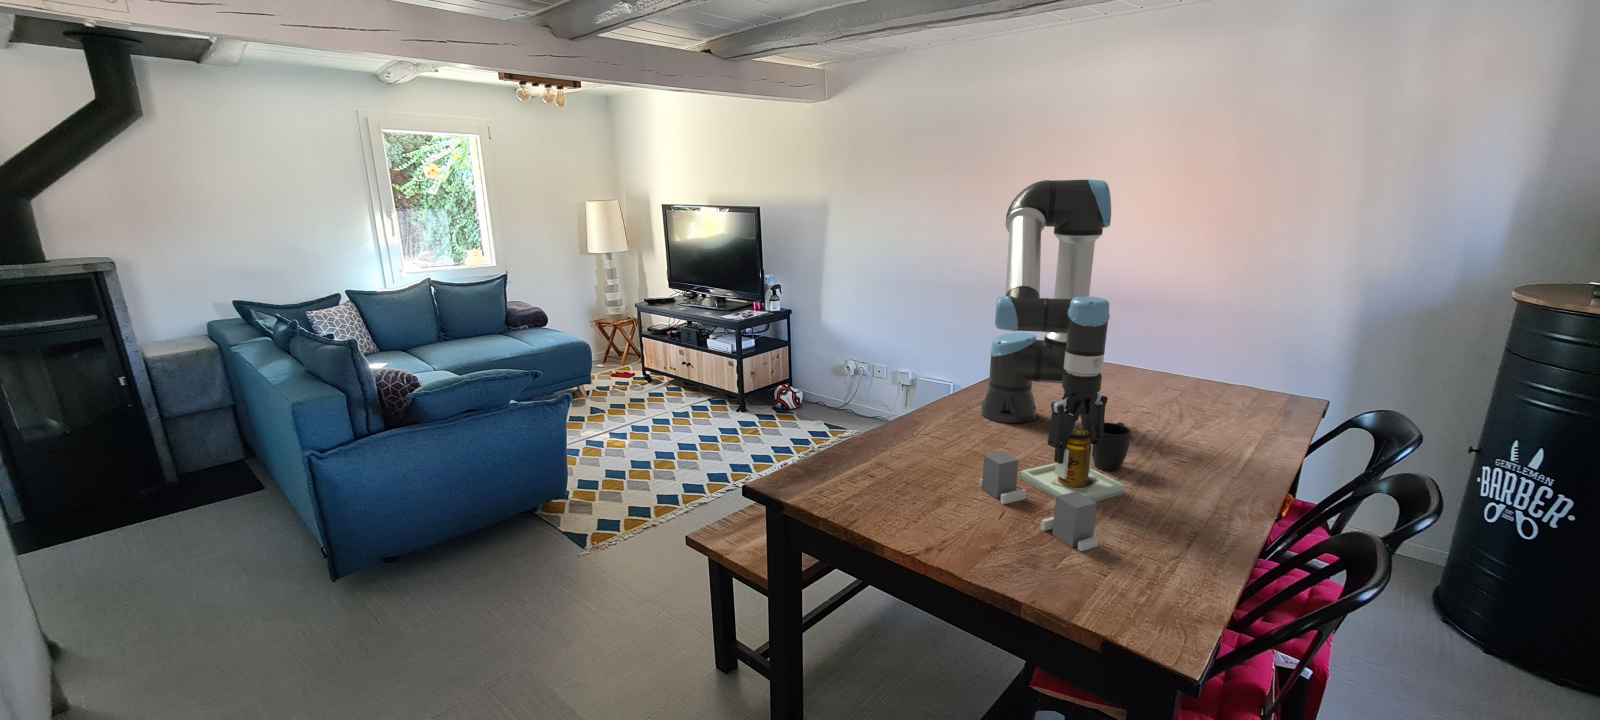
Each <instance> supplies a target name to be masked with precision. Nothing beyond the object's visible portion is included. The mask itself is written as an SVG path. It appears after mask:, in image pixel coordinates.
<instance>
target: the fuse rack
mask: <svg viewBox="0 0 1600 720" xmlns="http://www.w3.org/2000/svg"><path fill="white" fill-rule="evenodd" d="M982 465H983V466H982V467H983V468H982V478H979V480H978V481H979V483H978V486H979V487H980V488H981V490H983V491H984V492H986V493H987V494H989V495H991V496H992V497H993V498H995V499H997V500H998V499H1000V504H1001V505H1006V504H1011V503H1014V502H1019V501H1022V500H1026V498H1027V490H1026V489H1025V488H1021V489H1018V490H1017V482H1018V469H1019V458H1018V459H1017V458H1016V457H1014V456H1013V455H1010V454H1009V453H1007V452H1004V451H1002V450H1001V451H999V452H998V451H997V452H994V453H988V454H984V455H983V464H982ZM1097 507H1098V501H1096V502H1095V501H1093V500H1091V499H1089V498H1088V497H1086V496H1084V495H1082V494H1080V493H1078V492H1077V491H1076V492H1072V493H1068V494H1064V495H1060V496H1056V499H1055V501H1054V514H1053V516H1050V517H1046V518H1044V519H1041V520H1040V521H1041V522H1040V530H1042V531H1043V532H1046V531H1049V530H1052V531H1051V532H1052V534H1051V535H1052V536H1053V537H1055V538H1057V539H1058V540H1059V541H1061V542H1063V543H1064V544H1066V545H1068V546H1069V548H1071V549H1072V548H1075V547H1076V548H1077V550H1078V551H1080V552H1082V551H1083V552H1084V551H1087V550H1089V549H1093V548H1097V547H1098V545H1099V538H1098V537H1096V536H1095V535H1094V534H1095V525H1096V516H1097Z"/></svg>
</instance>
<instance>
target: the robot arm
mask: <svg viewBox="0 0 1600 720" xmlns="http://www.w3.org/2000/svg"><path fill="white" fill-rule="evenodd" d="M1111 197H1112V196H1111V192H1110V186H1109V184H1108V182H1106V181H1105V180H1102V179H1101V180H1100V179H1089V178H1087V179H1086V178H1085V179H1062V180H1061V179H1060V180H1057V179H1056V180H1050V179H1046V180H1041V181H1037V182H1034V183H1032V184H1030V185H1028V186H1027V187H1025V188H1023V190H1021V191H1020V192H1019V193H1018V194H1017V195H1016V197H1014V198H1013V200H1012V201H1011V203H1010V205H1009V206H1008V209H1007V212H1006V214H1005V215H1006V216H1005V228H1006V230H1007V232H1008V247H1007V248H1008V249H1007V262H1006V263H1007V264H1006V279H1005V294H1004V296H998V297H997V298H996V303H995V305H996V306H995V316H994V325H995V328H996V329H998V330H1003V331H1012V333H1006V334H1005V333H1004V334H1001V335H999V336H996V337H995V338H994V339H993V340H992V342H991V347H990V348H991V350H990V353H989V356H990V365H989V376H988V377H989V379H988V388H987V391H986V393H985V396H984V399H983V401H982V403H981V405H980V415H982V416H983V417H984V418H986V419H989V420H990V421H991V420H992V421H994V422H999V423H1006V424H1007V423H1008V424H1024V423H1030V422H1032V421H1034V420H1036V418H1037V406H1036V403H1035V399H1034V395H1033V391H1032V389H1033V382H1036V383H1037V382H1038V383H1049V384H1050V383H1052V384H1061V386H1062V389H1063V390H1064V394H1063V396H1062V398H1061V400H1060V401H1058V402H1057V401H1052V402H1051V404H1050V408H1051V417H1050V422H1049V424H1050V425H1049V431H1048V437H1047V445H1048V446H1050V447H1051V448H1054V458H1053V459H1054V460H1053V461H1054V463H1055V474H1056V475H1057V476H1059V477H1061V478H1063V479H1065V478H1067V468H1068V458H1069V450H1068V449H1066V448H1067V445H1068V442H1069V439H1070V436H1071V433H1072V430H1073V428H1075V424H1076V422H1077V421H1079V419H1080V420H1081V428H1082V429H1085V430H1087V431H1089V432H1090V434H1091V436H1090V444H1091V455H1090V464H1089V473H1090V468H1091V466H1092V460H1093V454H1094V445H1098V444H1099V442H1100V441H1098V439H1100V440H1101V439H1103V434H1104V423H1105V414H1106V406H1107V403H1108V400H1109V399H1108V396H1105V395H1104V394H1100V393H1099V392H1100V391H1101V389H1102V380H1103V379H1102V378H1103V374H1101V373H1103V369H1104V361H1105V352H1106V351H1105V347H1106V343H1107V342H1106V341H1107V334H1108V325H1109V320H1110V318H1111V317H1110V302H1109V301H1108V300H1107V299H1105V298H1101V297H1097V296H1090V291H1091V281H1092V273H1093V272H1092V271H1093V264H1094V262H1093V261H1094V256H1095V255H1094V254H1095V244H1096V240H1098V239H1099V238H1100V237H1101V236H1103V230H1104V228H1109V227H1110V226H1111V219H1112V199H1111ZM1045 227H1046V228H1048V227H1050V228H1052V227H1053V235H1054V236H1055V237H1056V238H1057V239H1058V250H1057V251H1058V252H1057V260H1056V261H1057V262H1056V263H1057V264H1056V275H1055V281H1054V282H1055V283H1054V296H1053V298H1051V297H1050V298H1049V297H1045V298H1044V297H1040V296H1041V295H1040V291H1041V289H1040V288H1041V252H1042V251H1041V248H1042V246H1041V245H1042V232H1043V230H1044V229H1045ZM1016 331H1017V332H1016ZM1018 331H1019V332H1018ZM1027 332H1039V333H1040V332H1041V333H1044V332H1045V333H1044V339H1037V336H1036V335H1035V334H1034V333H1027ZM1096 431H1098V433H1097V432H1096ZM1061 443H1062V444H1061ZM1091 469H1092V468H1091Z"/></svg>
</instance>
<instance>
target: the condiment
mask: <svg viewBox="0 0 1600 720" xmlns="http://www.w3.org/2000/svg"><path fill="white" fill-rule="evenodd" d="M1090 436H1091V434H1090V432H1089V431H1087V430H1085V429H1082V427H1073V430H1072V433H1071V436H1070V439H1069V442H1068V445H1067V448H1066V449H1068V450H1069V458H1068V468H1067V478H1065V479H1063V478H1061V477H1059V476H1057V477H1056V478H1055V479H1054V480H1053V481H1052V482H1051V483H1054V484H1058V485H1061V486H1064V487H1068V488H1072V489H1076V490H1080V491H1084V492H1086V491H1087V490H1088V489H1089V488H1090V486H1091V485H1092V484H1093V483H1094V482H1095V481H1096V479H1097V477H1092V476H1088V474H1089V464H1090V455H1091V444H1090ZM1061 444H1062V443H1061Z"/></svg>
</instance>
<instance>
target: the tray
mask: <svg viewBox="0 0 1600 720" xmlns="http://www.w3.org/2000/svg"><path fill="white" fill-rule="evenodd" d="M1055 463H1056V462H1054V463H1050V464H1045V465H1041V466H1036V467H1031V468H1028V469H1023V470H1020V477H1019V478H1020V480H1021V481H1023V482H1025V483H1027V484H1028V485H1029V486H1032V487H1034V488H1035V489H1037V490H1039V491H1040V492H1042V493H1044V494H1046V495H1047V496H1049V497H1050V498H1052V499H1054V500H1056V496H1060V495H1064V494H1068V493H1072V492H1076V491H1077V492H1078V493H1080V494H1082V495H1084V496H1086V497H1088V498H1089V499H1091V500H1093V501H1095V502H1098V501H1102V500H1103V501H1104V500H1107V499H1110V498H1114V497H1118V496H1122V495H1125V492H1126V484H1124V483H1121V482H1119V481H1117V480H1115V479H1113V478H1112V477H1109V476H1107V475H1105V474H1104V473H1101V472H1099V471H1097V470H1095V469H1092V468H1090V473H1089V474H1088V476H1092V477H1097V479H1096V481H1095V482H1094V483H1093V484H1092V485H1091V486H1090V488H1089V489H1088V490H1087V491H1086V492H1084V491H1080V490H1076V489H1072V488H1068V487H1064V486H1061V485H1058V484H1054V483H1051V482H1052V481H1053V480H1054V479H1055V478H1056V477H1057V475H1056V474H1055Z"/></svg>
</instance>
